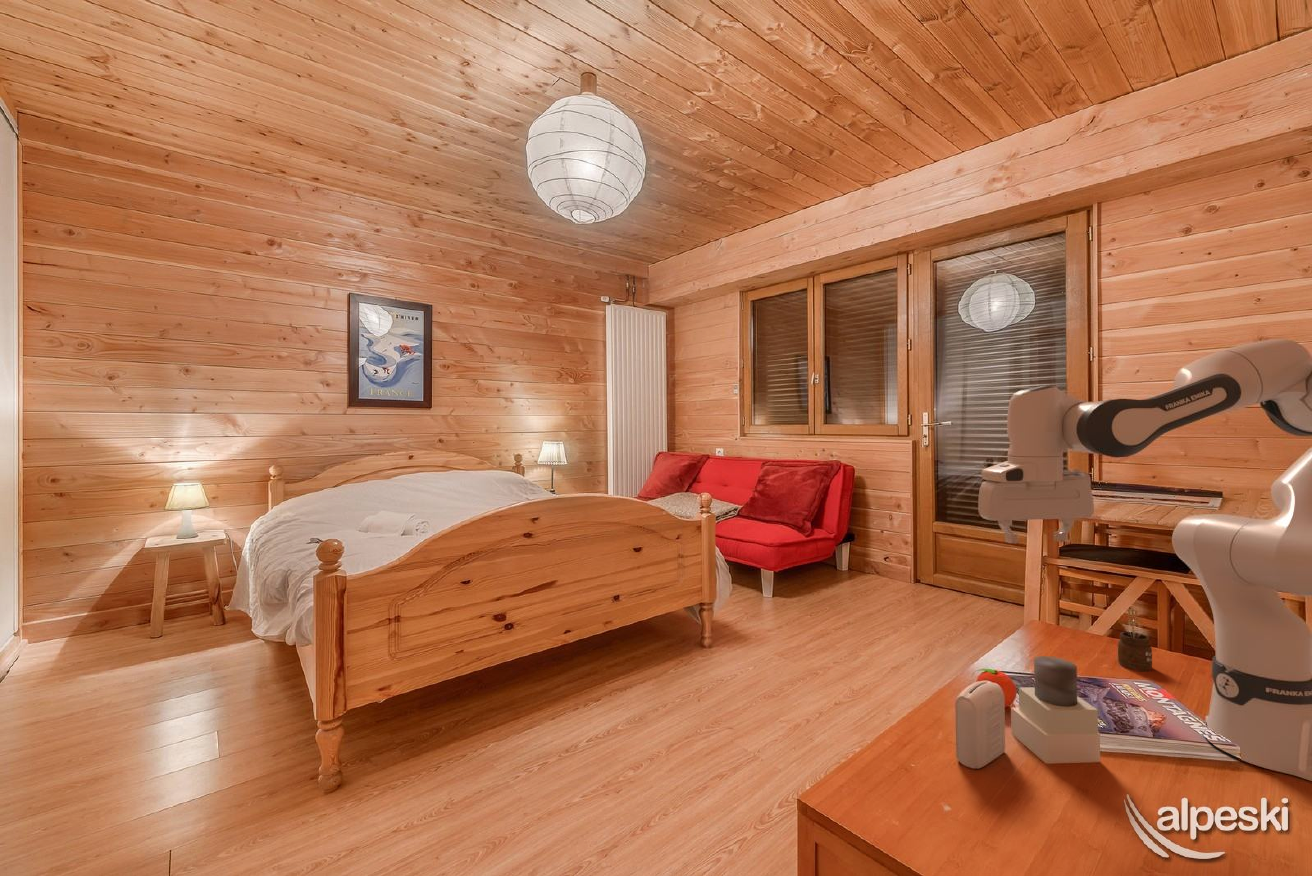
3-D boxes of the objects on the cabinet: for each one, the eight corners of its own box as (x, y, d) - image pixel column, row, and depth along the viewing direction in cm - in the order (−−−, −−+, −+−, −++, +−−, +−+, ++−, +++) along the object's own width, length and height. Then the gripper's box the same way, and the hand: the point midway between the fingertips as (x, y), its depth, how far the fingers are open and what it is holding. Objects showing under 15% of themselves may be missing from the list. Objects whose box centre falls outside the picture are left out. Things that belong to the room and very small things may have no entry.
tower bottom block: (1060, 733, 101) (1060, 706, 101) (1100, 763, 92) (1099, 733, 92) (1011, 734, 101) (1010, 707, 101) (1045, 764, 92) (1045, 735, 92)
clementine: (964, 703, 113) (964, 668, 113) (978, 692, 117) (978, 658, 117) (1009, 718, 107) (1008, 681, 106) (1022, 706, 111) (1021, 670, 111)
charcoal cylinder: (1060, 689, 99) (1059, 655, 99) (1086, 706, 93) (1085, 670, 93) (1026, 690, 99) (1026, 657, 99) (1050, 707, 93) (1050, 671, 93)
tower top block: (1064, 709, 100) (1064, 687, 100) (1098, 733, 92) (1097, 709, 92) (1019, 709, 101) (1018, 687, 101) (1048, 734, 93) (1047, 710, 93)
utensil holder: (1119, 668, 126) (1118, 615, 126) (1116, 658, 131) (1115, 607, 131) (1154, 674, 123) (1153, 619, 122) (1149, 663, 128) (1149, 611, 128)
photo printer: (983, 740, 100) (982, 671, 99) (1009, 751, 96) (1008, 680, 96) (952, 761, 94) (950, 688, 94) (978, 773, 90) (977, 698, 90)
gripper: (1077, 467, 111) (1078, 537, 111) (973, 470, 111) (974, 540, 111) (1102, 470, 104) (1103, 544, 105) (991, 473, 105) (992, 547, 105)
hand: (1036, 542), depth 108 cm, fingers open, 8 cm apart
